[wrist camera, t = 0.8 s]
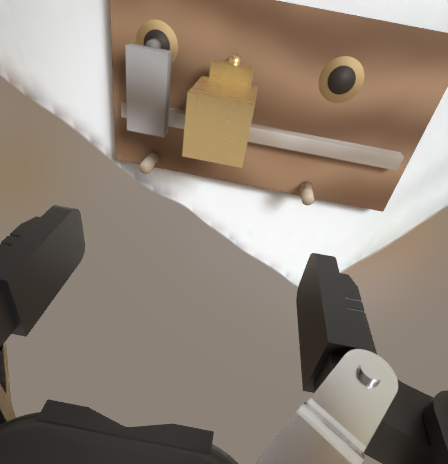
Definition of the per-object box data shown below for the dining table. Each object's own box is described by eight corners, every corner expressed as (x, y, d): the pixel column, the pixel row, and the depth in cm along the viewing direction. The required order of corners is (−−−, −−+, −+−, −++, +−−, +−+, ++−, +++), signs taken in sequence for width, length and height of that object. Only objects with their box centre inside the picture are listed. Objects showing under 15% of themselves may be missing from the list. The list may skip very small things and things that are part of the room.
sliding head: (209, 48, 24) (189, 65, 19) (263, 59, 24) (260, 79, 19) (199, 134, 28) (180, 170, 22) (246, 143, 28) (239, 181, 22)
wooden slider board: (116, -30, 24) (92, -34, 21) (462, 35, 24) (491, 42, 20) (122, 153, 32) (105, 170, 29) (378, 203, 32) (390, 226, 29)
